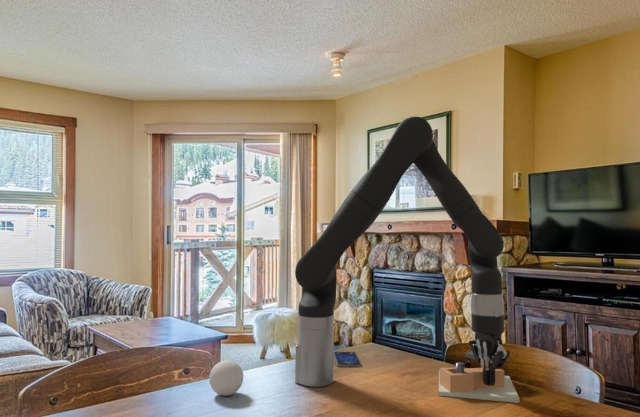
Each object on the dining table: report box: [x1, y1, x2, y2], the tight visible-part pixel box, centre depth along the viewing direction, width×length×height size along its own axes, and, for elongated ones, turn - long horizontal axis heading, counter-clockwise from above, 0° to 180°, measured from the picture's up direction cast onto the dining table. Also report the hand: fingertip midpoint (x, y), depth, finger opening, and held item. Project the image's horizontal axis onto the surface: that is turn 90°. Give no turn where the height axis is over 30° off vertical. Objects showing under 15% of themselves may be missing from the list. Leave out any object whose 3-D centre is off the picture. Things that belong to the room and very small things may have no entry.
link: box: [439, 366, 505, 392], centre depth 118 cm, size 15×6×4 cm, turn 101°
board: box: [438, 370, 520, 404], centre depth 120 cm, size 18×17×1 cm
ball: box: [208, 359, 244, 397], centre depth 113 cm, size 8×8×8 cm
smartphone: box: [333, 351, 363, 368], centre depth 144 cm, size 7×1×15 cm
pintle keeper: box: [455, 350, 509, 373], centre depth 121 cm, size 13×16×7 cm
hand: (489, 384), depth 114 cm, fingers closed
